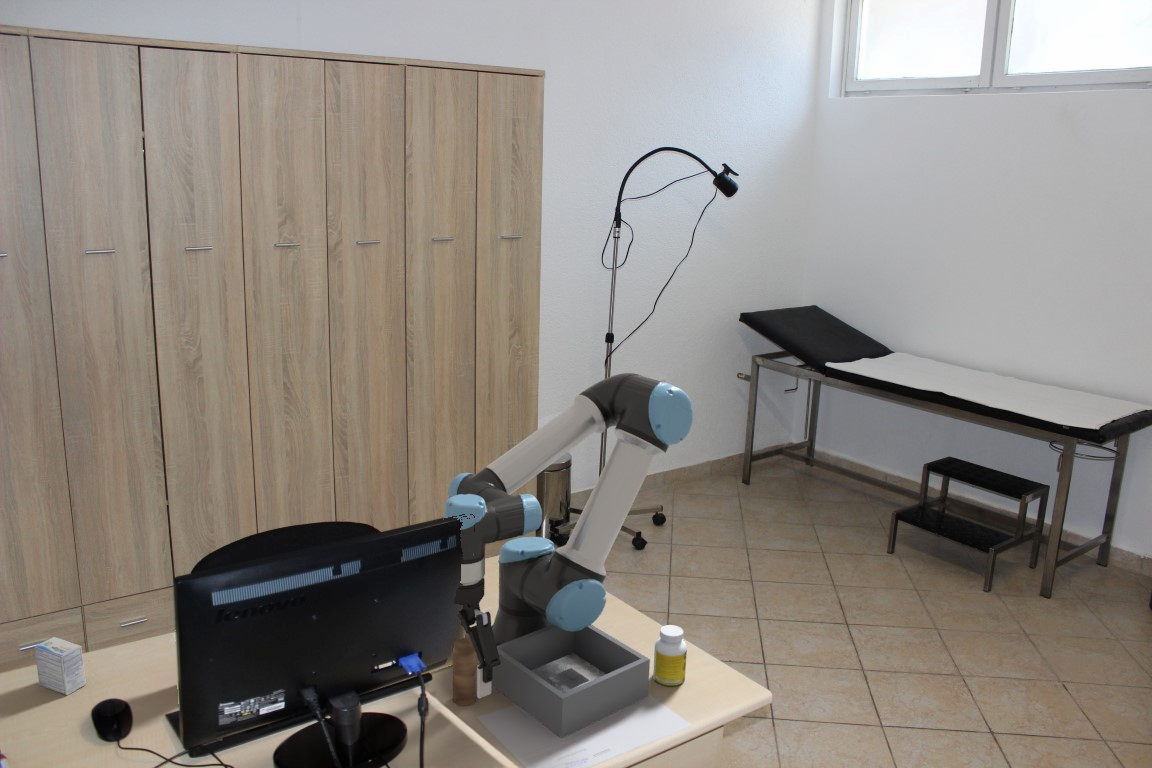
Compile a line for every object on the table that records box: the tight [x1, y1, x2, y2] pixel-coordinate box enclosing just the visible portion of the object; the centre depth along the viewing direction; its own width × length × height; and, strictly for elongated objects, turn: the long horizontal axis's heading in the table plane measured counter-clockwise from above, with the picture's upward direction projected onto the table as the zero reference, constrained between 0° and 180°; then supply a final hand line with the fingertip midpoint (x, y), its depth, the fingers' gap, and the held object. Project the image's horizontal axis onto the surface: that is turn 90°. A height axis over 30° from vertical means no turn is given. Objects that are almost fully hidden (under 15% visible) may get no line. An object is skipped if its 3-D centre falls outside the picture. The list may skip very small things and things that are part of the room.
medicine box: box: [34, 636, 87, 696], centre depth 181 cm, size 8×4×9 cm, turn 65°
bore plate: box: [531, 653, 606, 693], centre depth 184 cm, size 14×14×2 cm
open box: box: [491, 624, 651, 739], centre depth 183 cm, size 22×22×9 cm
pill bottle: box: [652, 624, 688, 688], centre depth 188 cm, size 6×6×12 cm
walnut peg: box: [452, 632, 477, 707], centre depth 178 cm, size 4×4×14 cm
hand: (463, 679), depth 179 cm, fingers open, 13 cm apart
